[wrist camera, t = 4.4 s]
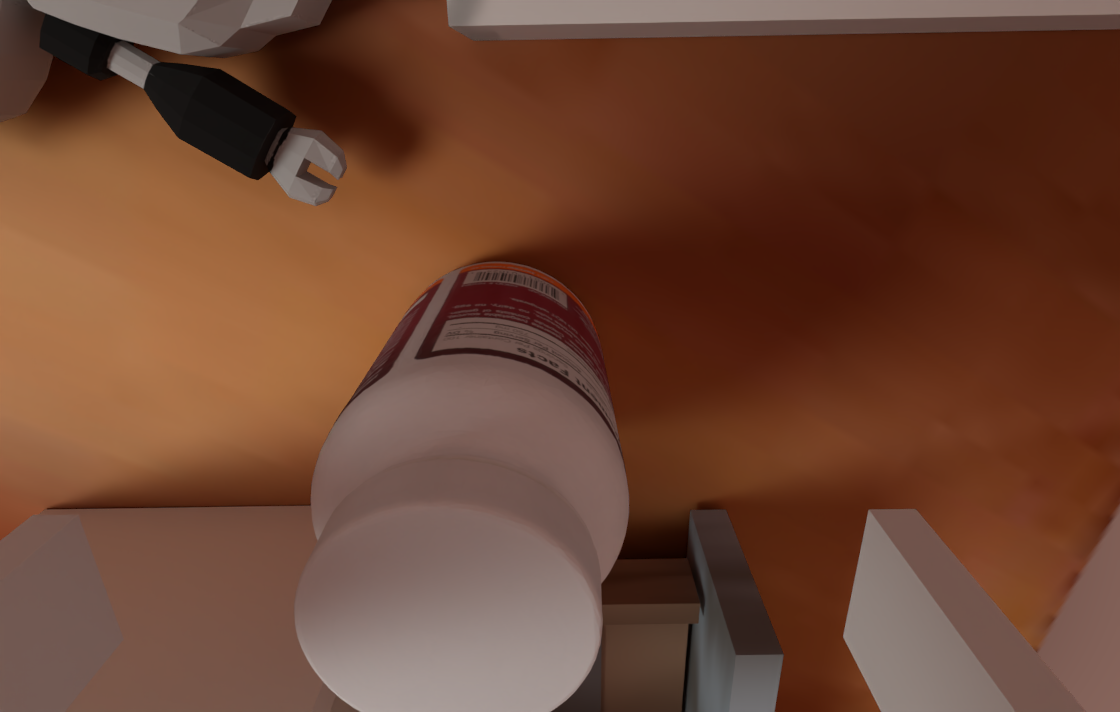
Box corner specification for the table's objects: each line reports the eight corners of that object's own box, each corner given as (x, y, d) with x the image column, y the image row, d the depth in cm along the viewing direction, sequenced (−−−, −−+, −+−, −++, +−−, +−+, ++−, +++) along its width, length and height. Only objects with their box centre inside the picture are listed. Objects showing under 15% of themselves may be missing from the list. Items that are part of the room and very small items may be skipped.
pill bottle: (464, 468, 21) (377, 815, 11) (362, 311, 19) (141, 561, 9) (634, 394, 20) (712, 702, 10) (548, 219, 18) (535, 384, 8)
